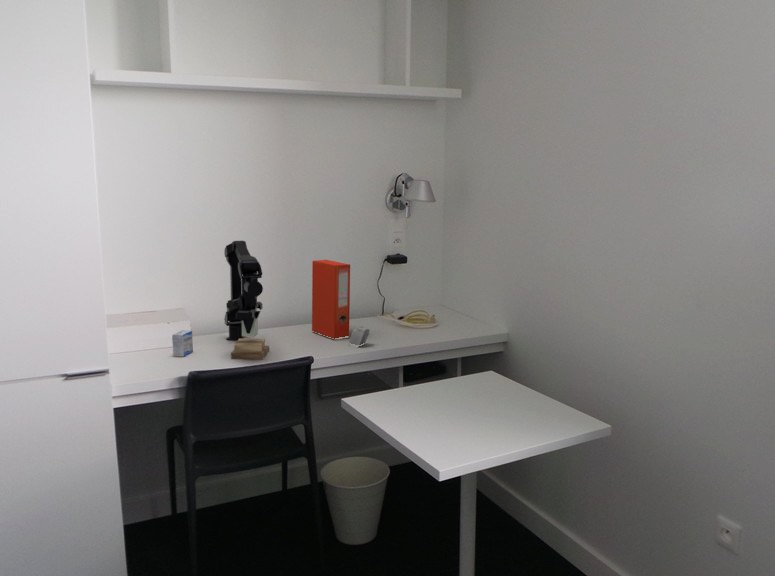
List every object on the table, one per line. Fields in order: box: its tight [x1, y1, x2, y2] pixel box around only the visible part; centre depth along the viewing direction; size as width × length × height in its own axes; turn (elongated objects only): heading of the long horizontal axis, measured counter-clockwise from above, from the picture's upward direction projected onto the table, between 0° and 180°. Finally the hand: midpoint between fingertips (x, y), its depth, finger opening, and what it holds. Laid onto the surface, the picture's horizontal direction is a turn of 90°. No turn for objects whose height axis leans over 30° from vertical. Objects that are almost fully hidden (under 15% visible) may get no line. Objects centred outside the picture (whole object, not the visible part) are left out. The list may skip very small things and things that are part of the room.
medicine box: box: [171, 329, 194, 358], centre depth 266 cm, size 8×4×9 cm, turn 168°
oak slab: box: [233, 337, 266, 353], centre depth 266 cm, size 10×10×3 cm
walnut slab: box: [230, 345, 270, 361], centre depth 266 cm, size 12×12×3 cm
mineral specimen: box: [348, 326, 371, 345], centre depth 283 cm, size 7×9×8 cm
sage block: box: [242, 317, 259, 337], centre depth 265 cm, size 5×5×6 cm
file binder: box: [311, 259, 351, 339], centre depth 297 cm, size 8×17×32 cm, turn 39°
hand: (249, 331), depth 265 cm, fingers closed on sage block, 5 cm apart
